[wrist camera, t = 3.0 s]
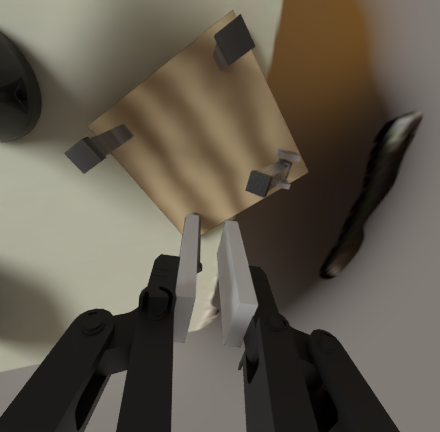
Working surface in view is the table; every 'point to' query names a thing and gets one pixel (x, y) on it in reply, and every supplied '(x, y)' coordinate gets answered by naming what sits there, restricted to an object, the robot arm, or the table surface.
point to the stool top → (197, 130)
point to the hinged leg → (268, 177)
